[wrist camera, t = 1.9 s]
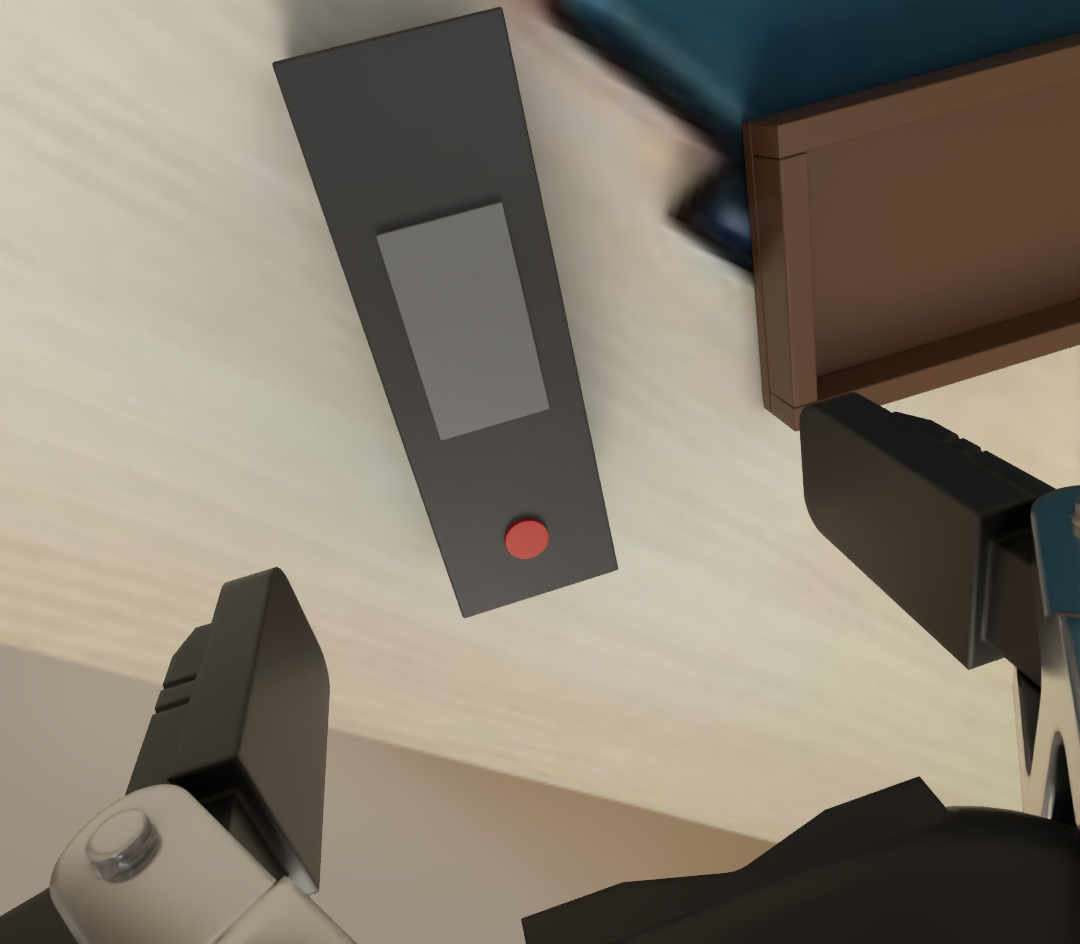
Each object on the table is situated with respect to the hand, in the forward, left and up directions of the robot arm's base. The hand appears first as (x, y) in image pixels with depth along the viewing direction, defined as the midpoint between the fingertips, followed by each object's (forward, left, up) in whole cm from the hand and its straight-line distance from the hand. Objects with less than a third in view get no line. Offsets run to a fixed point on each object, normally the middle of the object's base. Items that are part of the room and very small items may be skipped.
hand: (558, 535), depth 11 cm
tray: (+1, +18, -11) cm, 21 cm away
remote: (0, 0, -11) cm, 11 cm away
